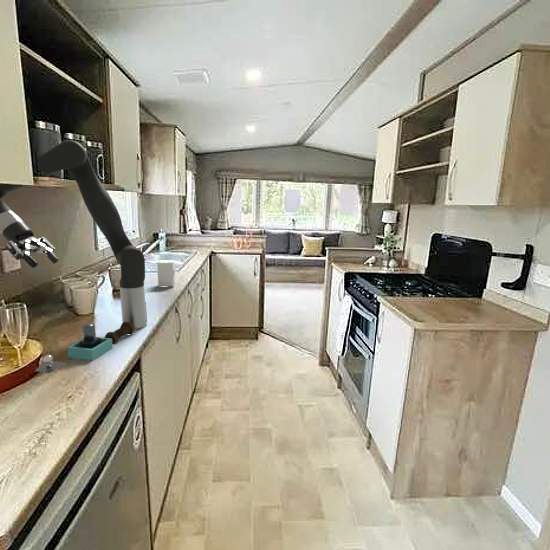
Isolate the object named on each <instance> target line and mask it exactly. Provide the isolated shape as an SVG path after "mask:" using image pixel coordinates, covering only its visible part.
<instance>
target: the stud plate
mask: <svg viewBox="0 0 550 550" xmlns="http://www.w3.org/2000/svg"><path fill="white" fill-rule="evenodd" d="M66 364H68V362H63V361H56V360H55V361H54V357H53V356H52V355H51V354H45V356H44V357H43V358H42V363H41V364H39V365H40V366H39V365H38V366H39V367H38V368H37V369H36V370H35V371H34V372H38V373H45V374H51V373H52V372H54V371H56V370H58V369H59V368H61V367H63V366H65V365H66Z"/></svg>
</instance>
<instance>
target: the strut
mask: <svg viewBox="0 0 550 550" xmlns="http://www.w3.org/2000/svg"><path fill="white" fill-rule="evenodd" d="M82 334H83V336H82V337H83V338H82V339H81V340H79V341H80V348H88V349H92V348H94V347H96V346H98V345H99V344H101V341H100V337H101V336H100V337H99V336H97V335H96V324H95V323H94V322H87V323H84V324H82Z"/></svg>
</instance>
